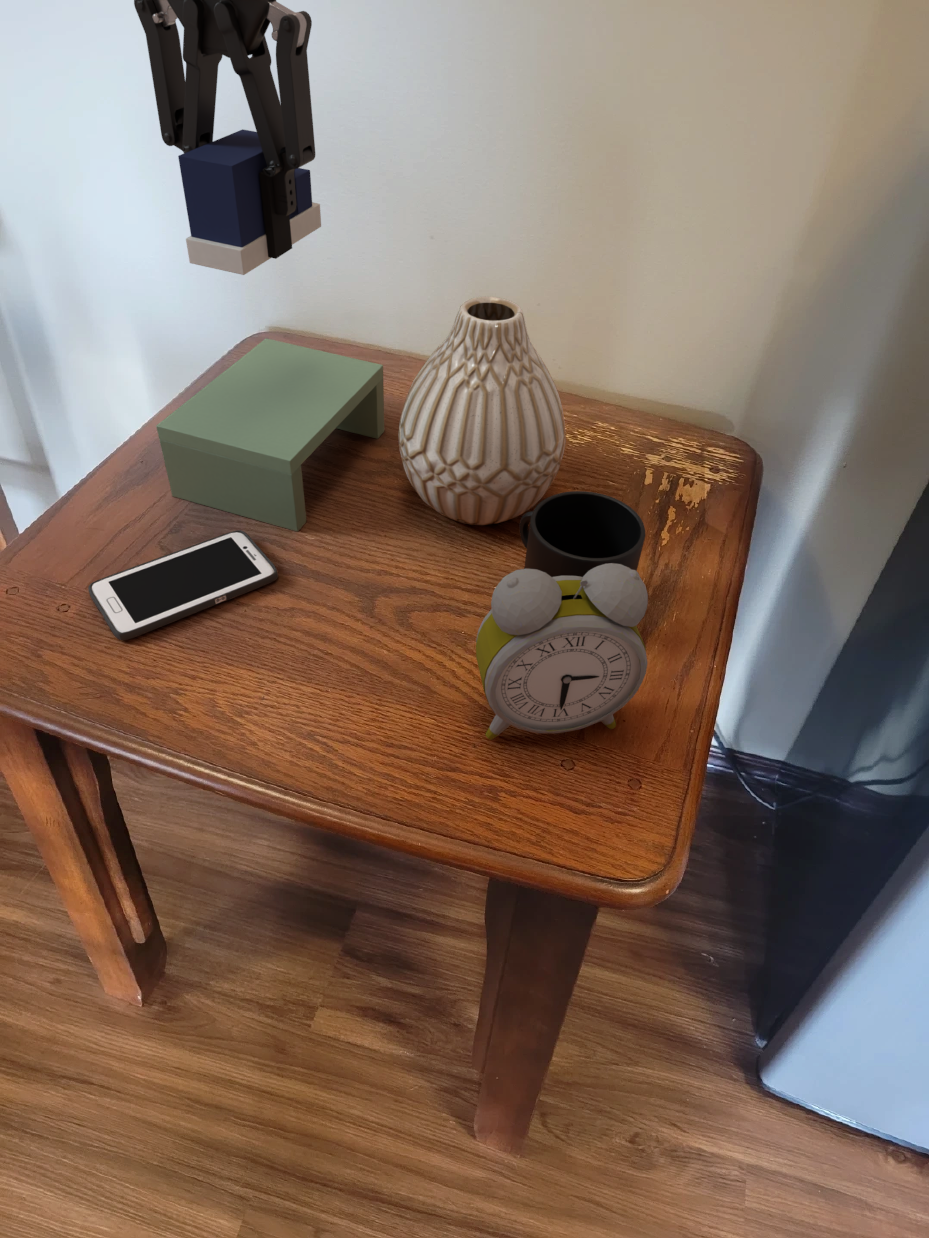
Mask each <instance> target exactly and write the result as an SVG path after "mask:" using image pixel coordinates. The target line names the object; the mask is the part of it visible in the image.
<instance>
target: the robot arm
mask: <svg viewBox="0 0 929 1238" xmlns="http://www.w3.org/2000/svg"><path fill="white" fill-rule="evenodd" d="M133 6H134V8H135V11H136V14H137V16H138V19H139V20H140V24H141V26H142V29H143V31H144V34H145V39H146V45H147V52H148V58H149V64H150V71H151V77H152V78H151V79H152V84H153V90H154V96H155V101H156V102H155V103H156V109H157V115H158V121H159V122H158V123H159V128H160V129H159V130H160V135H161V138H162V139H161V140H162V141H163V143H164V144H165V145H166V146H168V147H173V146H174V147H175V148H177V149H179V151H180V150H181V151H182V152H183V154H184V153H186V152H189V151H191V150H194V149H196V148H199V147H201V146H203V145H206V144H208V143H211V142H213V141H214V131H215V115H216V104H217V103H216V101H217V88H218V77H219V75H218V74H219V64H220V62H221V61H222V59H223V56H224V57H226V58H228V59H230V63H231V66H232V69H233V71H234V73H235V74H236V75H237V76H238V77H239V79H240V82H241V85H242V89H243V92H244V96H245V98H246V102H247V105H248V108H249V112H250V115H251V119H252V121H253V124H254V128H255V130H256V131H255V132H257V134H258V138H259V141H260V144H261V147H262V151H263V154H264V157H265V161H266V164H267V168H265V169H263V172H261V173H259V177H260V186H261V195H262V205H263V214H264V223H265V232H266V240H267V250H268V257H270V259H275V260H276V259H278V258H279V257H281V256H283V255H285V254H286V253H288V252H289V251H290V250H292V249H293V245H292V239H291V228H290V217H289V214H291V213H292V212H294V211H295V209H296V205H297V204H296V193H295V180H294V170H295V169H297V168H302V167H303V166H306V165H307V164H309V163H310V162H312V161H314V160H315V158H316V144H315V132H314V120H313V108H312V98H311V97H312V95H311V85H310V84H311V83H310V73H309V72H310V71H309V61H308V47H309V46H308V45H309V41H310V36H311V32H312V31H311V30H312V25H313V24H312V23H313V22H312V17H311V15H310V14H309V13H308V12H307V11H305V10H300V11H297V12H295V11H293V10H292V9H290V8H288V7H287V6H285V5H283V4H282V3H279V2H278V1H277V0H133ZM177 19H178V21H179V22H180V24H181V26H182V27H183V38H182V39H183V41H182V46H181V39H180V35H179V34H180V33H179V29H178V25H177V22H176V21H177ZM270 24H271V26H272V32H271V38H272V40H273V41H275V42H276V43H275V44H276V45H275V63H276V73H277V83H278V90H279V91H277V87H276V84H275V80H274V76H273V73H272V70H271V69H272V68H271V65H272V57H271V53H270V49H269V46H268V42H267V39H266V33H267V31H268V28H269V26H270ZM249 56H251V57H249ZM184 62H185V69H184ZM278 93H279V94H278Z"/></svg>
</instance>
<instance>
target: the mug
mask: <svg viewBox="0 0 929 1238" xmlns="http://www.w3.org/2000/svg"><path fill="white" fill-rule="evenodd" d="M518 526H519V536H520V539H521V542H522V544H523V546H524V548H525V549H526V550H525V551H526V552H525V559H524V560H525V561H524V567H523V569H537V570H540V571H542V572H545V573H547V574H548V575H549V576H551V577H556V576H579V577H583V576H584V575H585V574H586V573H587V572H588V571H589V570H591V569H593V568H595V567H597V566H600V565H603V564H608V563H615V564H621V565H624V566H626V567H629V568H630V569H631V570H636V571H637V572H638V567H639V563H640V561H641V555H642V552H643V547H644V543H645V539H646V528H645V524H644V522H643V520H642V518H641V517H640V515H639V514H638V513H637V512H636V511H635V510H634V509H633V508H632V507H631V506H629V505H628V504H627V503H625V502H623V501H621V500H619V499H617V498H615V497H613V496H611V495H606V494H604V493H599V492H594V491H587V490H585V491H584V490H573V491H563V492H559V493H556V494H553V495H550V496H548V497H546V498H545V499H543V500H541V501H539V503H537V505H536V506H535V508H534V509H533V510H531V511H526V512H524V513H523V515H522V516H521V517H520V521H519V525H518Z"/></svg>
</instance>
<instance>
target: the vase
mask: <svg viewBox="0 0 929 1238" xmlns="http://www.w3.org/2000/svg"><path fill="white" fill-rule="evenodd" d="M417 372H418V373H417V374H416V376H415V378H414V379H413V381H412V383H411V385H410V387H409V389H408V392H407V395H406V397H405V399H404V403H403V407H402V410H401V413H400V414H401V415H400V418H399V423H398V424H399V425H398V431H397V434H398V449H399V454H400V460H401V463H402V464H401V465H402V467H403V470H404V472H405V475H406V478H407V479H408V481H409V483H410V484H411V486H412V488H413V489H414V491H415V492H416V493H417V495H418V496H419V498H420V499H421V500H422V501H423V502H424V503H425V504H427V505H428V506H429V507H430V508H432V509H433V510H434V511H435V512H437V513H439V514H440V515H442V516H444V517H446V518H448V519H451V520H453V521H454V522H458V523H461V524H466V525H471V526H490V525H496V524H499V523H500V524H501V523H503V522H506V521H509V520H512V519H515V518H517V517H519V516H521V515H522V514H525V513H527V512H528V511H529V510H530V509H532V508H533V507H534V506H535V505H536V504H538V502H540V500H541V499H542V498H543V497H544V496H545V494H546V493H547V492H548V491H549V489H550V488H551V486H552V484H553V482H554V481H555V479H556V477H557V475H558V473H559V469H560V468H561V465H562V461H563V458H564V453H565V449H566V436H567V435H566V434H567V433H566V432H567V431H566V422H565V415H564V409H563V405H562V399H561V398H560V394H559V391H558V389H557V385H556V383H555V380H554V379H553V377H552V375H551V373H550V371H549V369H548V367H547V366H546V364H545V362H544V360H543V359H542V357H541V355H540V354H539V352H538V351H537V349H536V348H535V347H534V344H533V343H532V341H531V339H530V336H529V333H528V328H527V324H526V320H525V315H524V311H523V308H522V307H521V306H520V305H519V304H517V303H516V302H514V301H512V300H510V299H507V298H503V297H499V296H491V295H490V296H489V295H487V296H486V295H485V296H476V297H473V298H469V299H467V300H465V301H464V302H462V303H461V304H460V306H459V308H458V310H457V313H456V316H455V319H454V321H453V324H452V326H451V328H450V331H449V332H448V334H447V335H446V337H445V338H444V340H443V341H442V342H441V343H440V344H439V345H438V346H437V347H436V349H434V351H433V352H432V353H431V354H430V356H429V357H428V358H427V360H426V361H425V362H424V363H423V365H422V366H421V368H420V369H419V371H417Z"/></svg>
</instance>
